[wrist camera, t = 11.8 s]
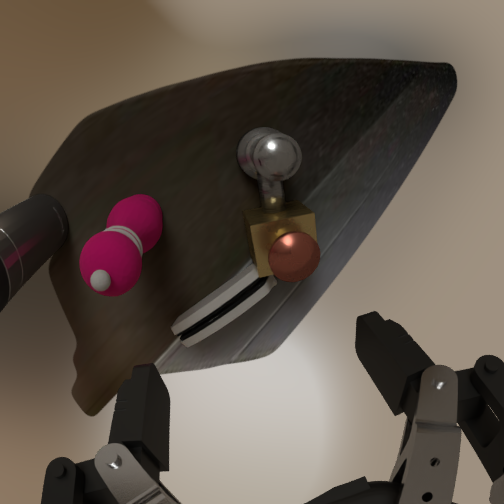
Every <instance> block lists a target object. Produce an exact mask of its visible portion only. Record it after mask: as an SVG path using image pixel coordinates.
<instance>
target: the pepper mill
mask: <svg viewBox="0 0 504 504" xmlns="http://www.w3.org/2000/svg"><path fill="white" fill-rule="evenodd" d="M162 217H163V215H162V210H161V207H160V205H159V204H158V203H157V201H156V200H154V199H153V198H152V197H150V196H148V195H144V194H137V195H134V196H131V197H129V198H126V199H123V200H121V201H120V202H118V203H117V204H116V205H115V206H114V208H113V209H112V211H111V212H110V214H109V217H108V220H107V229H105V230H104V231H103V232H100V233H97V234H96V235H94V236H93V237H91V238H90V239H89V240H88V241H87V242H86V244H85V246H84V248H83V249H82V252H81V255H80V271H81V275H82V277H83V279H84V281H85V282H86V284H87V285H88V286H89V287H90V288H91V289H92V290H94V291H95V292H97V293H99V294H101V295H104V296H119V295H122V294H124V293H126V292H127V291H129V290H130V289H131V288H132V287H133V286H134V285H135V284H136V282H137V281H138V279H139V277H140V274H141V269H142V254H143V253H145V252H147V251H148V250H150V249H151V248H152V247H154V245H155V244H156V243H157V241H158V240H159V238H160V236H161V233H162V227H163V224H162Z"/></svg>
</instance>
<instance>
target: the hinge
mask: <svg viewBox="0 0 504 504" xmlns="http://www.w3.org/2000/svg"><path fill="white" fill-rule="evenodd" d="M275 285H277V280H276V279H275V278H274V275H269V276H265V277H261V278H259V276H258V272H257V269H256V267H255V266H254V263H253V264H251V265H250V266H249V267H247V268H246V269H244V270H243V271H242V272H240V273H239V274H237V275H236V276H235V277H233V278H232V279H230V280H229V281H228V282H226V283H225V284H223V285H222V286H221V287H219V288H218V289H217V290H215V291H214V292H212V293H211V294H210V295H208V296H207V297H205V298H204V299H203V300H201V301H200V302H198V303H197V304H195V305H194V306H193V307H191V308H190V309H188V310H187V311H186V312H184V313H183V314H181V315H180V316H179V317H178V318H177V319H176V321H175V322H174V323H173V325H172V326H171V329H172V331H173V333H174V335H176V334H177V336H180V335H181V337H180V339H181V341H180V342H181V343H182V344H183V345H184V346H186V347H190V346H192V345H194V344H196V343H197V342H199V341H201V340H203V339H205V338H206V337H208V336H210V335H211V334H213V333H215V332H216V331H218V330H219V329H221V328H222V327H224V326H225V325H227V324H228V323H230V322H231V321H233V320H234V319H235V318H237V317H238V316H240V315H241V314H242V313H244V312H245V311H246V310H248V309H249V308H250V307H252V306H253V305H254V304H256V303H257V302H258V301H259V300H261V299H262V298H263V297H264V296H266V295H267V294H268V293H269V292H270V290H271V288H273V287H274V286H275Z"/></svg>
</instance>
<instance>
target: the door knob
mask: <svg viewBox="0 0 504 504" xmlns="http://www.w3.org/2000/svg"><path fill="white" fill-rule="evenodd" d="M245 158H246V161H247V163H248V164H249V166H250V167H252V168H253V169H254V170H256V171H257V172H259V173H260V174H261V175H262V176H264V177H265V178H267V179H269V180H273V181H282V180H286V179H288V178H290V177H291V176H293V175H294V174H295V173H296V172H297V170H298V169H299V166H300V164H301V150H300V148H299V146H298V144H297V142H296V141H295V140H294V139H293V138H291V137H290V136H288V135H285V134H281V133H260V134H257V135H255V136H253V137H252V138H251V139H250V140H249V141H248V143H247V145H246V147H245Z"/></svg>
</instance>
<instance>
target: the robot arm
mask: <svg viewBox="0 0 504 504" xmlns="http://www.w3.org/2000/svg"><path fill="white" fill-rule="evenodd" d="M67 233H68V222H67V217H66V214H65V212H64V210H63V208H62V207H61V205H60V204H59V203H58V202H57V201H56V200H55V199H54V198H52V197H50V196H48V195H43V194H40V195H35V196H33V197H31V198H29V199H27V200H25V201H23V202H21V203H19V204H17V205H15V206H13V207H11V208H10V209H7V210H6V211H4V212H2V213H0V312H1V311H2V310H3V308H4V307H5V306H6V305H7V304H8V302H9V301H10V300H11V299H12V298H13V297H14V296H15V294H16V293H17V292H18V291H19V290H20V289H21V287H22V286H23V285H24V284H25V283H26V282H27V281H28V280H29V279H30V278H31V277H32V275H33V274H34V273H35V272H36V271H37V270H38V269H39V268H40V267H41V266H42V265H43V264H44V263H45V262H46V261H47V260H48V259H49V258H50V257H51V256H52V255H53V254H54V253H55V252H56V251H57V250H58V249H59V248H60V247H61V246H62V245H63V243H64V242H65V240H66V237H67ZM355 348H356V353H357V356H358V358H359V360H360V361H361V363H362V364H363V366H364V368H365V369H366V371H367V372H368V374H369V375H370V377H371V378H372V380H373V382H374V383H375V385H376V386H377V388H378V390H379V391H380V393H381V394H382V396H383V398H384V399H385V401H386V402H387V404H388V406H389V407H390V409H391V410H392V412H393V414H394V415H395V416H396V415H399V414H401V413H403V412H404V413H405V414H406V416H407V419H406V422H405V427H404V432H403V437H402V441H401V446H400V450H399V453H398V457H397V461H396V464H395V466H394V469H393V471H392V474H391V477H390V480H389V482H388V481H372V482H367V480H366V477H365V476H364V477H361V478H359V479H356V480H354V481H351V482H349V483H345V484H343V485H340V486H337V487H334V488H332V489H330V490H329V491H327V492H325V493H324V494H322V495H320V496H318V497H316V498H314V499H312V500H311V501H309V502H307V503H304V504H456V503H453V502H452V497H453V492H454V487H455V481H456V475H457V468H458V461H459V452H460V443H461V429H462V431H463V432H464V434H465V436H466V437H467V439H468V440H469V442H470V444H471V445H472V447H473V449H474V450H475V452H476V454H477V455H478V457H479V459H480V460H481V462H482V464H483V466H484V468H485V469H486V471H487V473H488V475H489V476H490V478H491V480H492V482H493V485H492V487H491V492H490V498H489V501H490V503H491V504H504V362H503V361H502V360H501V359H499V358H498V357H496V356H493V355H484V356H482V357H480V358H479V359H478V360H477V361H476V363H475V366H474V368H470V369H465V370H460V371H453V370H452V369H451V368H449V367H447V366H444V365H435V364H434V362H433V361H432V360H431V359H430V358H429V357H428V355H427V354H426V353H425V352H424V351H423V350H422V349H421V347H420V346H419V345H418V344H417V343H416V342H415V341H413V339H412V337H411V336H410V335H408V333H407V332H406V331H405V329H404V328H403V327H402V326H401V325H400V324H398V323H396V322H394V321H392V320H390V319H389V320H386V321H385V320H384V319H383V318H382V317H381V316H380V315H379V313H378V312H376V311H374V312H370V313H367V314H364V315H361V316H358V317H357V321H356V341H355ZM116 402H117V403H116V404H115V411H114V414H113V420H112V425H111V430H110V436H109V442H108V445H105V446H104V447H102V448H101V449H100V450H99V451H98V453H97V454H96V456H95V458H94V459H91V460H87V461H84V462H80V463H76V464H75V463H73V462H72V461H71V460H70V459H68V458H66V457H59V458H56V459H54V460H52V461H51V462H50V463H49V465H48V467H47V469H46V474H45V480H44V486H43V492H42V500H41V504H181V503H180V502H179V501H178V500H177V499H176V498H175V496H174V495H173V494H172V493H171V492H170V491H169V490H168V489H167V488H166V487H165V486H164V485H163V484H162V482H161V481H160V480H159V473H160V472H161V471H169V426H170V425H169V424H170V397H169V393H168V390H167V387H166V386H165V384H164V382H163V380H162V378H161V376H160V374H159V372H158V370H157V368H156V366H155V365H154V364H153V363H150V364H143V365H136V366H134V368H133V372H132V377H131V379H129V380H125V381H124V382H123V384H122V385H121V387H120V388H119V390H118V394H117V399H116ZM488 405H489V406H488ZM490 408H491V409H492V410H493V412H494V413H495V414H494V413H493V412H492V410H491V409H490ZM495 415H496V416H497V417H496V416H495ZM497 418H498V419H499V420H498V419H497ZM456 423H458V424H459V426H460V427H459V426H457V424H456Z"/></svg>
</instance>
